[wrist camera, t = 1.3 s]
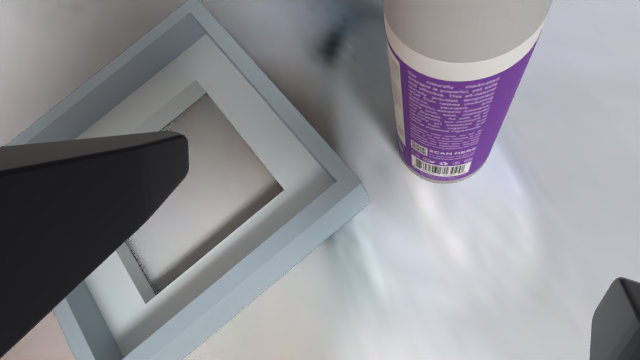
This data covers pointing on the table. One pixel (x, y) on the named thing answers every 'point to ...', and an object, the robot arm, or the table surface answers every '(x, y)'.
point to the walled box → (241, 245)
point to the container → (456, 77)
